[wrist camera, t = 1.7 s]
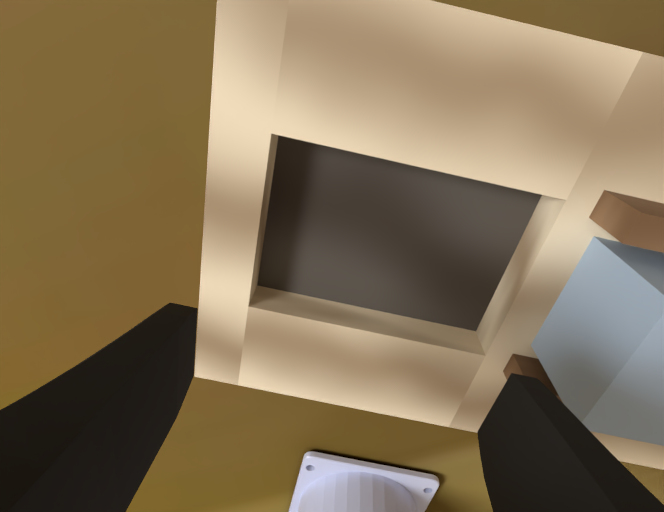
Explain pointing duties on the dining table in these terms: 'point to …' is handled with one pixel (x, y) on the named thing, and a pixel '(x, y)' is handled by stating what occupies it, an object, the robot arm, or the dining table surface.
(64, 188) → the dining table surface
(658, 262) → the slate block
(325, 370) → the birch deck
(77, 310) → the dining table surface
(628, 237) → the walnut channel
